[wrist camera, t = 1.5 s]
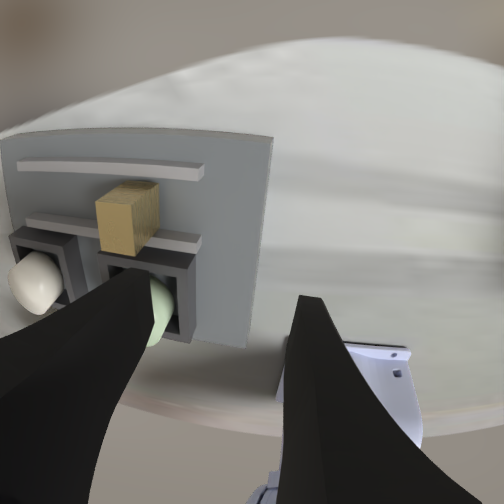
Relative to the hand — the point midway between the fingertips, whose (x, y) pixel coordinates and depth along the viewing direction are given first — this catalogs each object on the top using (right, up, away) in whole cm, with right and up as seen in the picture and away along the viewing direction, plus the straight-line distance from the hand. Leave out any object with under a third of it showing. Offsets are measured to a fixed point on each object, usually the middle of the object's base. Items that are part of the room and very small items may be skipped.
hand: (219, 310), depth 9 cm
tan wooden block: (-5, +4, +6) cm, 9 cm away
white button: (-13, 0, +9) cm, 16 cm away
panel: (-8, +3, +10) cm, 13 cm away
